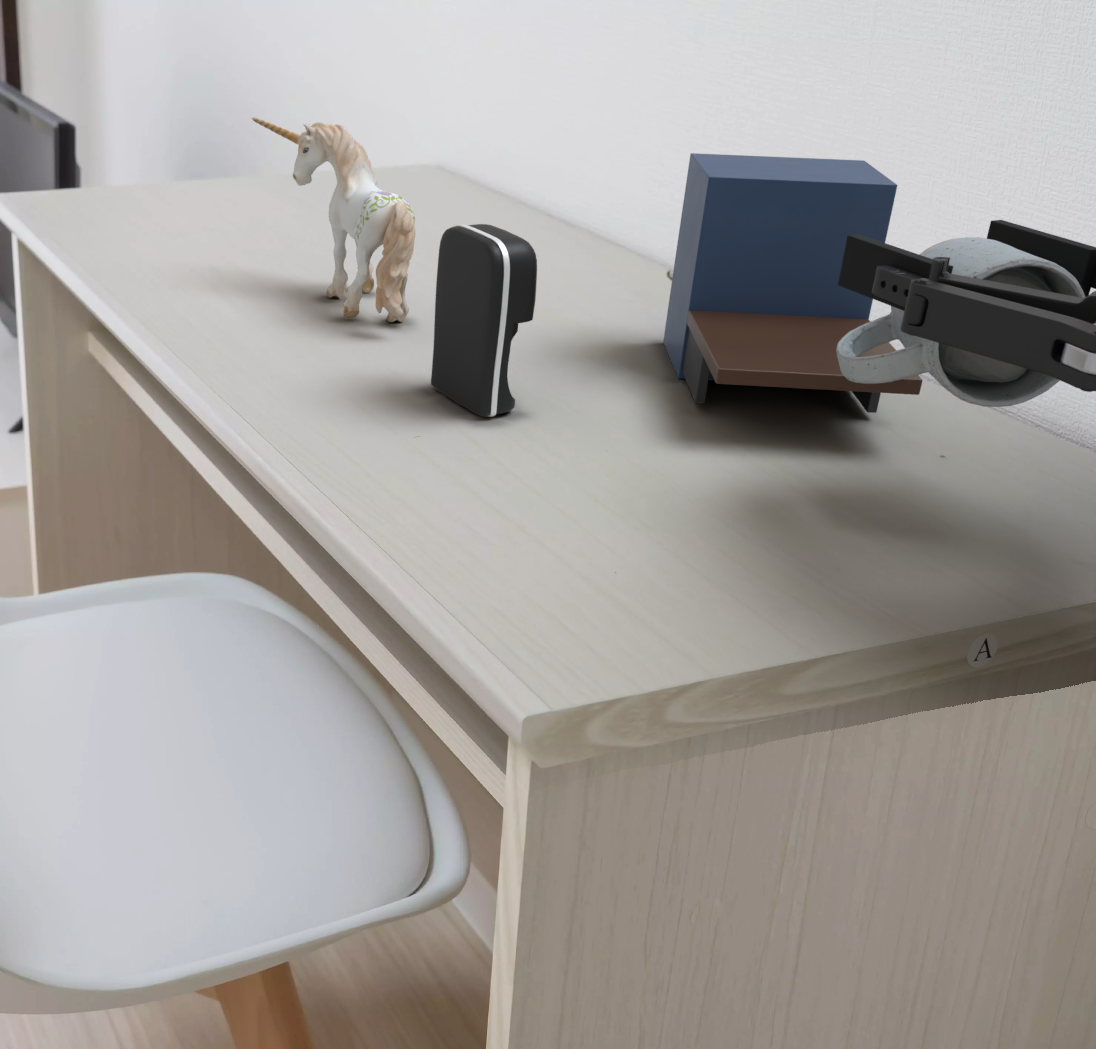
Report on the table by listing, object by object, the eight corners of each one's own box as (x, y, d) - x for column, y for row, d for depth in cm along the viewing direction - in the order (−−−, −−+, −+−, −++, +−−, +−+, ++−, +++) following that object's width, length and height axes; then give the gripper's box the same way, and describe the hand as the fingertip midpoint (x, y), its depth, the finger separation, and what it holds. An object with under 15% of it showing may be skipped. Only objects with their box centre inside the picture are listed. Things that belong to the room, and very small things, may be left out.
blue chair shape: (826, 351, 100) (864, 160, 94) (905, 456, 82) (959, 229, 76) (662, 342, 101) (690, 153, 95) (705, 444, 83) (743, 220, 77)
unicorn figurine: (320, 268, 117) (324, 110, 111) (464, 328, 103) (478, 150, 97) (250, 279, 114) (250, 116, 108) (390, 343, 99) (399, 160, 93)
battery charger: (532, 414, 87) (550, 239, 82) (482, 422, 86) (498, 245, 81) (474, 379, 93) (487, 214, 88) (426, 387, 91) (437, 219, 86)
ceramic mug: (1000, 356, 76) (1032, 221, 73) (1070, 409, 69) (1110, 262, 65) (811, 355, 76) (835, 220, 73) (861, 408, 69) (890, 260, 66)
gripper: (1113, 513, 53) (745, 339, 71) (1465, 438, 60) (1051, 298, 79) (1170, 330, 49) (769, 197, 68) (1536, 275, 57) (1086, 169, 76)
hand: (920, 251), depth 73 cm, fingers closed on ceramic mug, 9 cm apart
